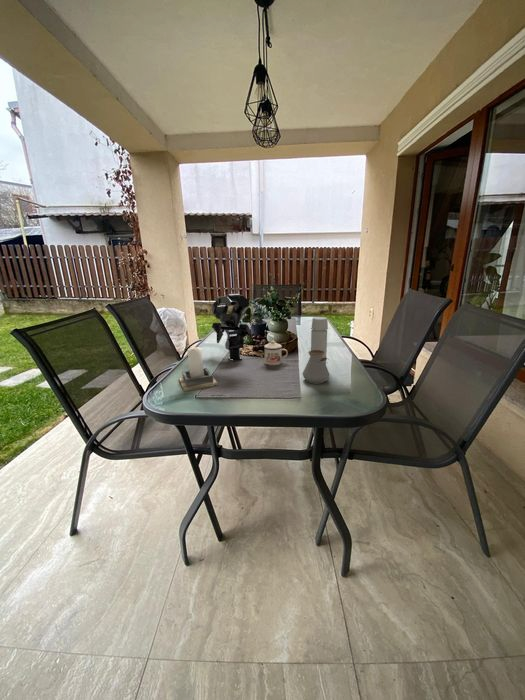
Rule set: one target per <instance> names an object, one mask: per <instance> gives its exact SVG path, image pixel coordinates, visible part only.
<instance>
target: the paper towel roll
mask: <svg viewBox="0 0 525 700" xmlns="http://www.w3.org/2000/svg"><path fill="white" fill-rule="evenodd" d="M187 359H188V368H189V370H188V371H190V379H192V378H197V377H203V376H204V357H203V348H202V347H198V346H197V347H191V348H188V349H187Z"/></svg>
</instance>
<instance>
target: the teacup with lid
mask: <svg viewBox="0 0 525 700" xmlns="http://www.w3.org/2000/svg"><path fill="white" fill-rule="evenodd" d="M263 349H264V364H266V365H267V364H268V366H279V365H280V364H282V362H283V361H282V359H285V358H286V357H288V354H289V353H288V350H287V349H285V348H283V346H282V344H280V343H277V342H276V341H275V340H271V341H270V342H269V343H267V344H265V345H264V347H263ZM282 351H285V355H284V356H282Z"/></svg>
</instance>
